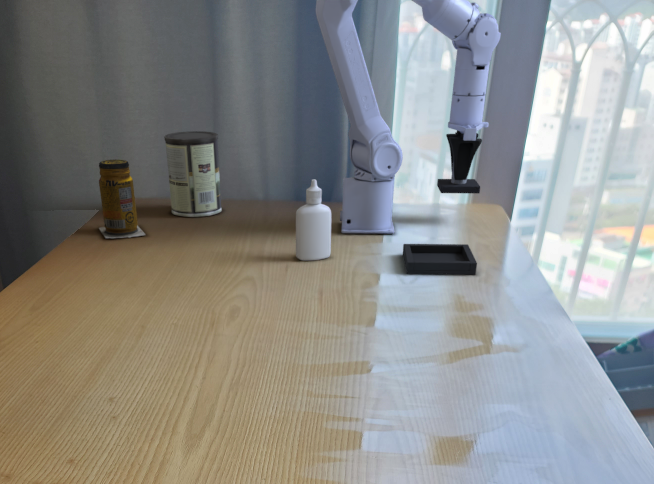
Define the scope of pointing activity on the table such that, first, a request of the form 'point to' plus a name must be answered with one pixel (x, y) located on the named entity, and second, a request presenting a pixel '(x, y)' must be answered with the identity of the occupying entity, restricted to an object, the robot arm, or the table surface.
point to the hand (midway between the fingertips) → (459, 177)
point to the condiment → (118, 200)
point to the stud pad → (458, 185)
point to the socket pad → (439, 259)
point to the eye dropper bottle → (313, 227)
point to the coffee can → (193, 173)
